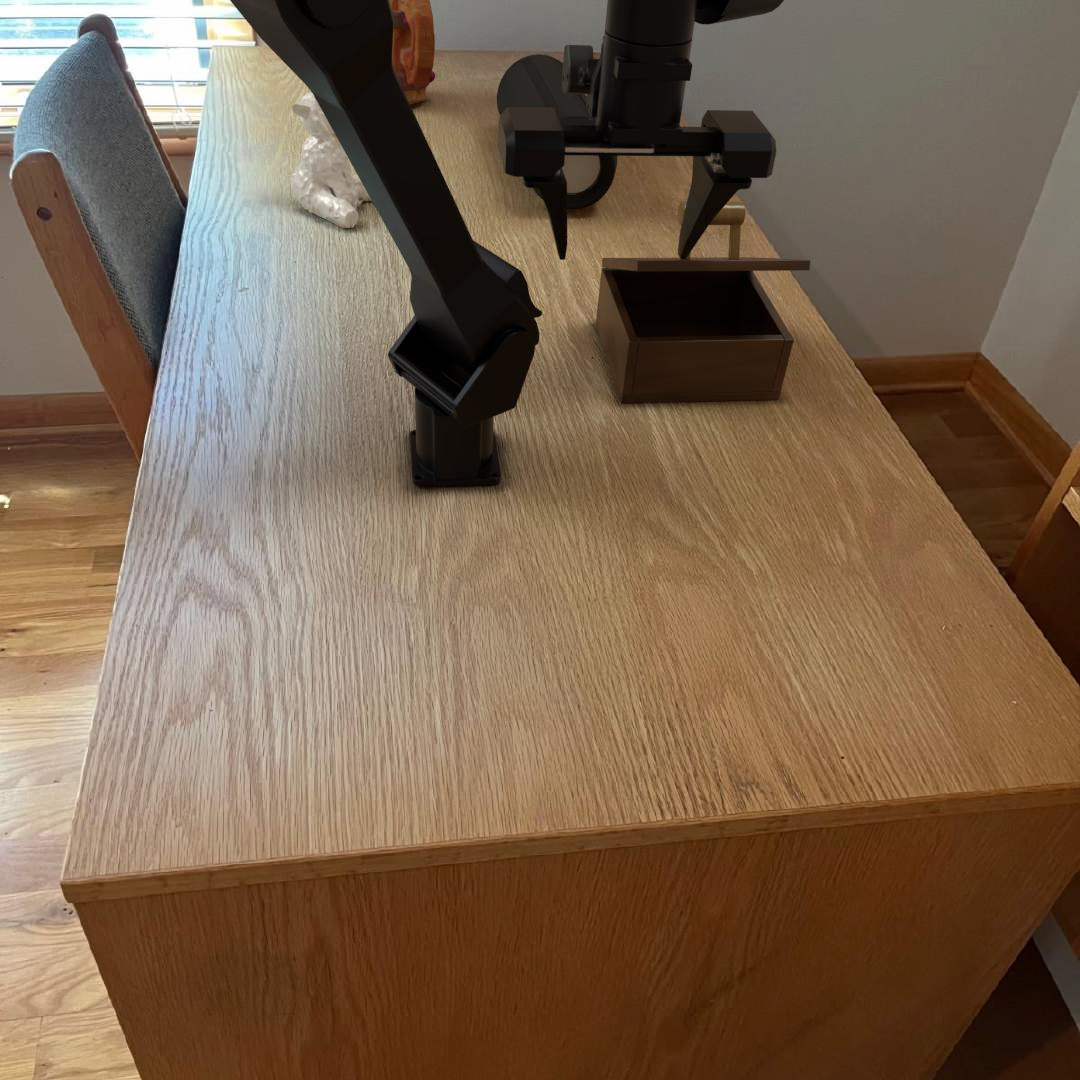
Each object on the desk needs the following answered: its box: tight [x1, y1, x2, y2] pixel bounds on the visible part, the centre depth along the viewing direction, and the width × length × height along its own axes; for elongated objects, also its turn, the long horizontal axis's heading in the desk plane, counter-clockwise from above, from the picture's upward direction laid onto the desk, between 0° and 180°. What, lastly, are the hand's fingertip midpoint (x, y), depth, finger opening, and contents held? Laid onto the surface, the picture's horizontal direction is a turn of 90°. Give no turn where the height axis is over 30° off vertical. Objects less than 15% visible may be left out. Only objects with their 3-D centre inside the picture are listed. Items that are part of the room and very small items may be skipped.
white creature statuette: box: [290, 91, 372, 229], centre depth 105 cm, size 10×9×12 cm
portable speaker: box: [496, 53, 618, 211], centre depth 117 cm, size 26×10×10 cm, turn 11°
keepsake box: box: [595, 267, 795, 404], centre depth 88 cm, size 13×14×6 cm
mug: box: [389, 0, 436, 105], centre depth 128 cm, size 15×8×15 cm, turn 25°
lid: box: [601, 200, 811, 272], centre depth 84 cm, size 13×14×5 cm
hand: (621, 257), depth 77 cm, fingers open, 9 cm apart
